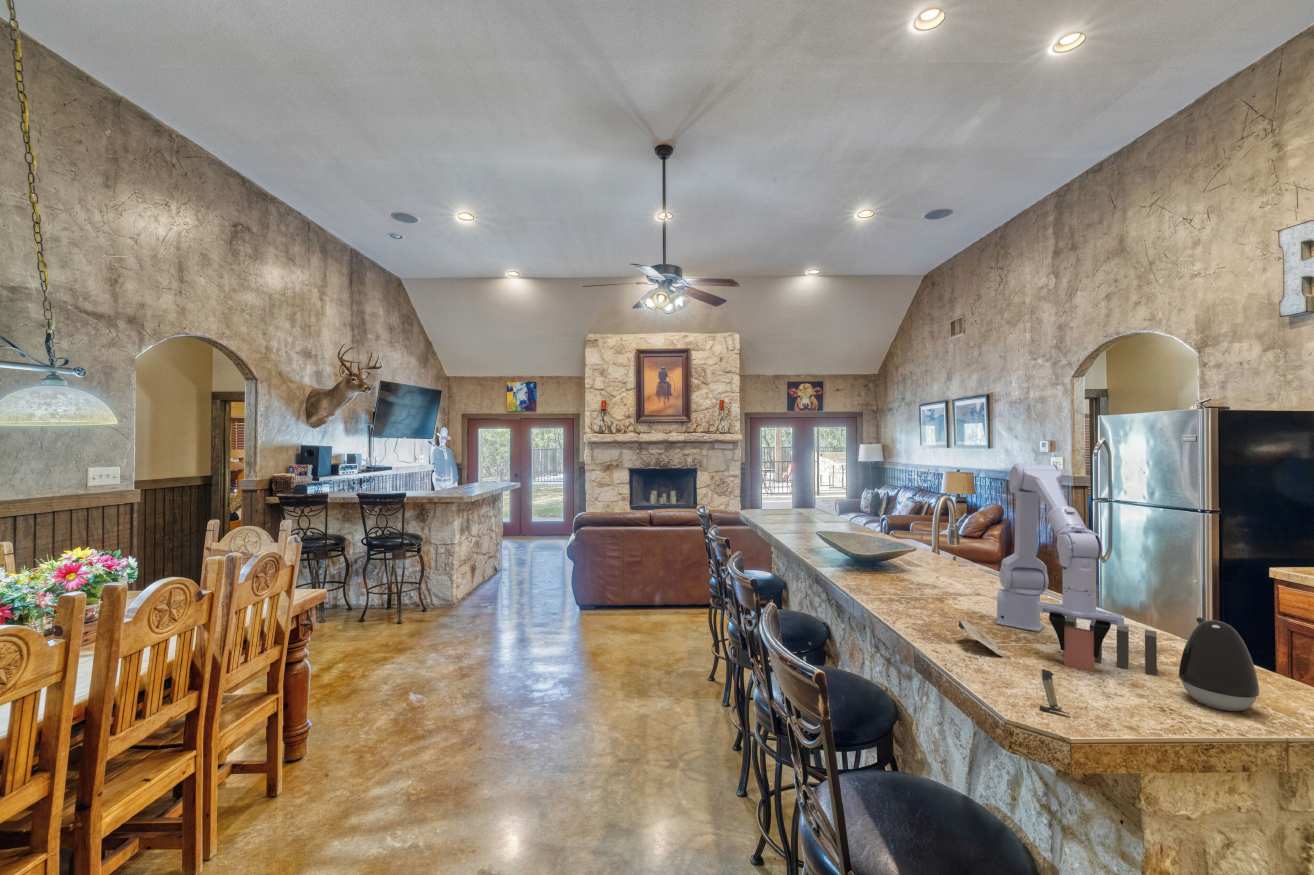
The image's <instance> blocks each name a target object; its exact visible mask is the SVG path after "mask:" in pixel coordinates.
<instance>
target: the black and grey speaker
mask: <svg viewBox="0 0 1314 875" xmlns="http://www.w3.org/2000/svg"><path fill="white" fill-rule="evenodd" d="M1195 620H1196V622H1197V624H1198V625H1196V626H1195V627H1194V629H1193V630H1192V631H1191V633H1190V635H1189V637H1188V639H1187V641H1186V643H1185V645H1184V648H1183V650H1182V654H1181V657H1180V663H1179V670H1178V677H1179V679H1180V680H1181V683H1182V686H1183V687H1184V689H1185V691H1186V692H1187V693H1188V695H1190V697H1192V698H1193V700H1196V701H1197V702H1198V703H1200V704H1203V705H1205V706H1207V707H1210V708H1213V709H1218V710H1220V711H1226V712H1227V711H1228V712H1240V711H1245V710H1248V709H1250V707H1252V706H1253V705H1254V704H1255V701H1256V699H1257V697H1259V696H1260V684H1259V679H1258V675H1257V671H1256V668H1255V665H1254V663H1253V659H1252V656H1251V654H1250V652H1249V650H1248V647H1247V645H1246V643H1245V641H1244V640H1243V638H1242V636H1241V635H1240V634H1239V633H1238V631H1237V630H1236V629H1235V628H1234V627H1232V626H1231V625H1230V624H1227V623H1226V622H1224V621H1220V620H1215V619H1214V620H1212V619H1210V620H1208V619H1207V620H1205V619H1204V618H1203V617H1199V616H1198V617H1197V618H1195Z"/></svg>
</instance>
